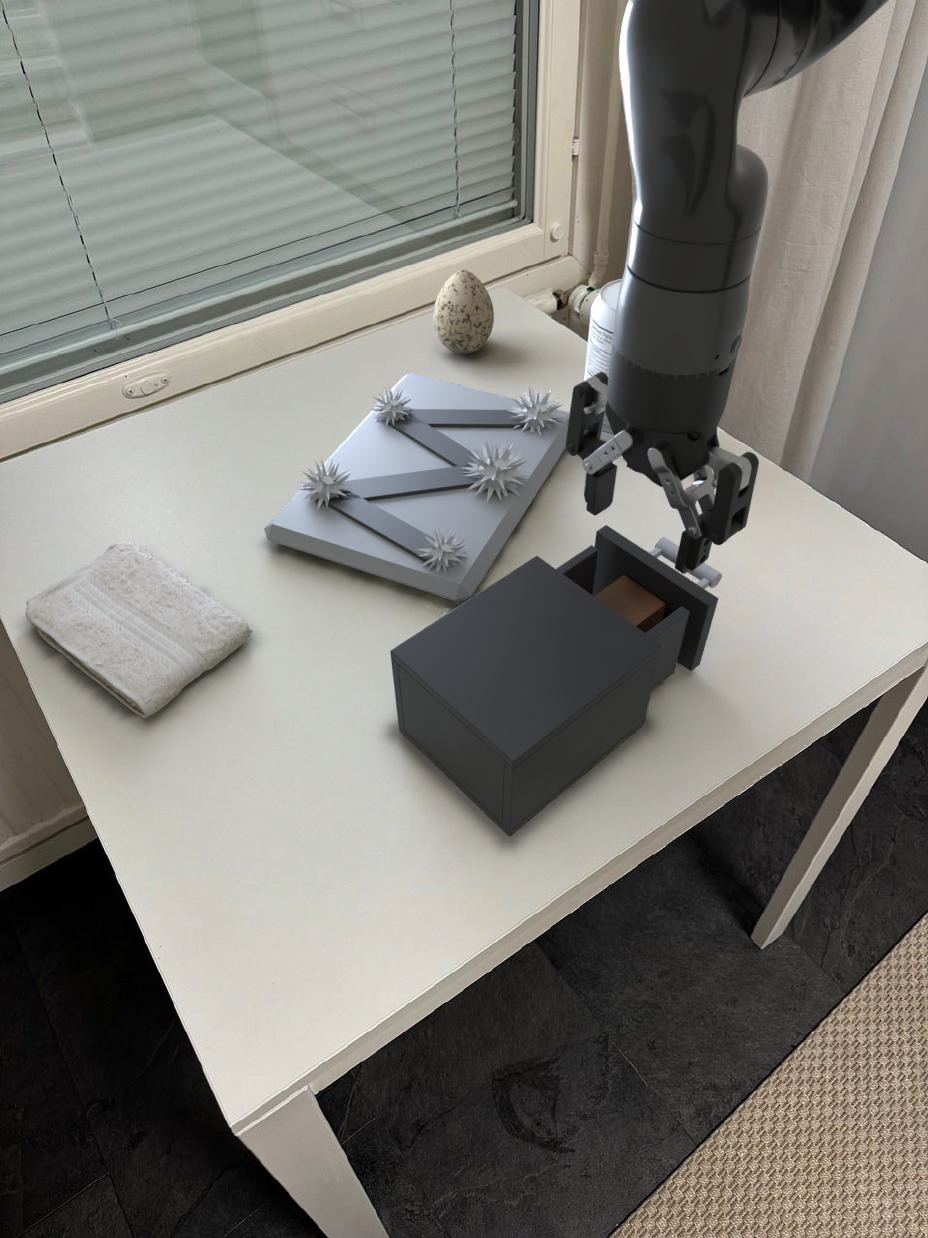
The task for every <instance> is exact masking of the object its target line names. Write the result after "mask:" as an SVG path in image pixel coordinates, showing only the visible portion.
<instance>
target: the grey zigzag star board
mask: <svg viewBox="0 0 928 1238" xmlns="http://www.w3.org/2000/svg"><path fill="white" fill-rule="evenodd" d="M530 388H531V389H530ZM530 388H528V394H527V392H526V391H525V390H523V392H524V397H525V398H524V397H523V396H522V395H521V394H518V396H519V398H520V399H519V398H518V397H509V396H505V395H501V394H497V393H493V392H489V391H484V390H481V389H476V388H473V387H469V386H464V385H461V384H456V383H453V382H448V381H445V380H441V379H437V378H433V377H429V376H424V375H421V374H417V373H412V372H408V373H406V374H405V375H404V376H402V377H401V378H400V379H399V380H398V381H397V382H396V384H394V385H393V387H392V388H391V389H390V388H389V386H387V389H386V388H384V390H383V394H384V396H383V395H382V394H380V393H379V392H377V394H376V396H377V397H376V396H374V395H373V398H374V399H375V400H376V401H377V402H376V404H371V406H372V407H373V408H371V410H370V412H369V413H368V414H367V415H366V416H365V417H364V418H363V420H362V421H361V422H360V423H359V424H358V425H357V426H356V427H355V428H354V429H353V431H352V432H351V433H349V435H348V436H347V437H346V438H345V439H344V440H343V441H342V443H341V444H340V445H339V446H338V447H337V448H336V449H335V450H334V451H333V453H332V454H330V455H329V457H328V458H327V459H326V460H325V461H324V462H323V460H322V458H320V464H321V466H320V465H319V464H318V461H315V463H316V464H315V465H316V468H317V469H316V471H315V472H314V471H313V470H311V469H309V468H308V467H306V466H305V468H306V469H307V471H308V472H309V473H310V474H309V473H306V472H305V471H303V470H301V472H302V473H303V474H304V476H306V479H307V481H297V483H299V484H302V485H300V487H301V488H298V491H297V492H296V493H295V494H294V495H293V496H292V497H291V499H289V501H288V502H287V503H286V504H285V505H284V506H283V507H282V508H281V509H280V510H279V512H278V513H277V514H276V515H275V516H274V517H273V518H272V519H271V520H270V521H269V522H268V524H267V525H266V526H265V527H264V528H263V530H264V533H265V536H266V538H267V540H268V541H269V542H273V543H276V544H279V545H282V546H285V547H288V548H291V549H294V550H297V551H300V552H304V553H307V554H309V555H312V556H316V557H318V558H322V559H325V560H327V561H330V562H334V563H338V564H341V565H343V566H346V567H350V568H351V569H355V570H359V571H362V572H364V573H367V574H370V575H373V576H377V577H379V578H383V579H386V580H388V581H392V582H395V583H397V584H401V585H404V586H407V587H410V588H412V589H413V588H414V589H417V590H419V591H422V592H425V593H428V594H432V595H434V596H435V595H436V596H438V597H441V598H444V599H447V600H450V601H453V602H460V603H461V602H464V601H465V600H466V601H467V600H469V599H470V598H472V597H473V596H474V593H476V590H477V589H478V587H479V586H480V584H481V582H482V581H483V579H484V578H485V576H486V575H487V574H488V572H489V570H490V568H491V567H492V565H493V564H494V562H495V560H496V559H497V557H498V556H499V554H500V552H501V551H502V549H503V548H504V546H505V544H506V543H507V542H508V540H509V538H510V537H511V535H512V533H513V532H514V530H515V529H516V527H517V526H518V524H519V522H520V521H521V519H522V518H523V516H524V514H525V513H526V511H527V510H528V508H529V507H530V505H531V503H532V501H533V500H534V499H535V497H536V495H537V494H538V492H539V491H540V489H541V487H542V486H543V484H544V483H545V481H546V479H547V478H548V476H550V473H551V472H552V470H553V469H554V467H555V465H556V464H557V462H558V461H559V459H560V457H561V456H562V454H563V453H564V451H565V449H566V438H567V430H568V423H569V416H570V411H565V410H560V409H559V408H560V407H562V406H563V405H564V403H562V404H560V402H558V400H559V399H560V397H558V398H556V399H554V400H552V401H551V399H549V398H550V395H551V392H552V389H550V390H549V391H548V392H547V393H546V394H545V396H544V387H542V388H541V390H540V393H539V390H537V391H536V394H535V391H534V388H533V386H532V385H531V387H530ZM556 402H558V403H556Z"/></svg>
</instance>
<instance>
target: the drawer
mask: <svg viewBox="0 0 928 1238" xmlns="http://www.w3.org/2000/svg"><path fill="white" fill-rule="evenodd" d="M594 539H595V540H594V546H593V545H589V546H587V547H586V548H585V549H584V550H582V551H580V552H579V553H578V554H576V555H574V556H573V557H571V558H570V559H568V560H567V561H565V562H564V563H562V564H561V565H559V566H558V567H556V568H555V569H556V570H558V571H559V572H561V573H562V574H563V575H565V576H566V577H568V578H569V579H570V580H572V581H573V582H575V583H576V584H577V585H579V586H580V587H581V588H583V589H584V590H586V591H587V592H588V593H590V594H591V595H593V596H595V595H596V594H598V593H599V592H601V591H602V590H604V589H605V588H606V587H608V586H609V585H611V584H612V583H614V582H615V581H616V580H618V579H619V578H621V577H622V576H623V575H625V576H626V577H628V578H629V579H631V580H632V581H634V582H635V583H637V584H638V585H640V586H641V587H642V588H644V589H645V590H647V591H648V592H650V593H651V594H653V595H654V596H656V597H657V598H658V599H660V600H661V601H663V602H664V603H666V606H665V610H664V615H663V619H662V621H661V622H660V623H659V624H657V625H656V626H655V627H653V628H652V629H651V630H650V631H648V632H647V633H646V634H647V635H648V636H650V637H651V638H653V639H654V640H655V641H657V642H658V643H660V644H661V645H662V648H661V652H660V657H659V661H658V666H657V670H656V674H655V679H654V683H653V687H652V692H653V691H654V690H655V689H656V688H658V687H659V686H660V685H662V684H663V683H664V682H665V681H667V680H668V679H669V678H670V677H671V676H673V675H674V674H675V670H676V667H677V664H679V665H680V666H682V667H683V668H685V669H686V670H687V671H688V672H693V671H694V670H695V669H697V667H699V666H700V665H701V662H702V658H703V654H704V652H705V648H706V645H707V640H708V638H709V633H710V631H711V627H712V623H713V619H714V617H715V612H716V609H717V606H718V602H719V597H717V596H716V595H714V594H712V593H711V592H709V590H706V589H707V588H708V587H710V588H711V589H714V588H715V587H717V586H718V585H719V583H720V582H721V580H722V578H723V574H722V573H721V572H720V571H718V570H716V569H715V568H714V567H712V566H711V565H709V564H707V563H706V562H704V563H703V564H701V565H700V566H699V567H697V568H696V569H694V570H693V571H691V570H689V571H688V572H687V574H689V575H691V576H692V577H694V578H695V579H697V580H699V581H698V582H697V583H696V582H694V581H693V580H691V579H690V578H688V577H687V576H685V575H684V574H682V573H681V572H679V571H678V570H676V569H675V568H673V567H671V566H670V565H668V564H667V563H666V562H664V561H662V560H661V559H659V557H660V556H662V557H663V558H665V559H666V560H668V561H669V562H671V563H673V564H674V565H675V564H676V559H677V554H678V550H679V545H677V544H676V543H674V542H673V541H671V540H669V539H668V538H667V537H665V536H663V537H661V538H659V539H658V540H657V542H656V543H655V545H654V548H653V549H652V550H650V551H649V552H648V551H647V550H645V549H644V548H643V547H641V546H639V545H638V544H636V543H635V542H634V541H632V540H630V539H629V538H628V537H625V536H624V535H622V534H621V533H620V532H618V531H616V530H615V529H613V528H611V526H609V525H607V524H605V525H603V526H602V527H601V528H599V529H597V530H596V532H595V538H594Z"/></svg>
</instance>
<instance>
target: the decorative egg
mask: <svg viewBox="0 0 928 1238" xmlns="http://www.w3.org/2000/svg"><path fill="white" fill-rule="evenodd" d="M491 298H492V297H491V296H490V293H489V291H488V290H487V288H486V286H485V285H484V284H483V282H482V281H481V279H479V278H478V277H477V275H475V274H474V273H473V272H472V271H470V270H468V269H460V270H457V271H456V272H454V273H453V274H452V275H451V276H449V278H448V279H447V280H446V281H445V282H444V284H443V285H442V287H441V289H440V290H439V292H438V294H437V297H436V300H435V302H434V307H433V316H432V317H433V318H432V319H433V326H434V330H435V333H436V335H437V338H438V339H439V341H440V342H441V343H442V344H443V346H444V347H445V348H447V349H448V350H450V351H451V352H453V353H456V354H462V355H465V354H471V353H474V352H476V351H477V350H479V349H481V348H482V347H483V346H484V345H485V344H486V343H487V342H488V340H489V339H490V336H491V334H492V331H493V327H494V323H495V311H494V305H493V301H492V299H491Z"/></svg>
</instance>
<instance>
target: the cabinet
mask: <svg viewBox="0 0 928 1238" xmlns="http://www.w3.org/2000/svg"><path fill="white" fill-rule="evenodd" d="M661 648H662V645H661V644H660V643H658V642H657V641H655V640H654V639H653V638H651V637H650V636H648V635H647V634H646V633H644V632H643V631H641V630H640V629H639V628H637V627H636V626H635V625H633V624H632V623H630V622H629V621H628V620H626V619H625V618H623V617H622V616H621V615H619V614H618V613H616V612H615V611H614V610H612V609H611V608H609V607H608V606H607V605H605V604H604V603H602V602H601V601H600V600H598V599H597V598H595V597H594V596H593V595H591V594H590V593H588V592H587V591H586V590H584V589H583V588H581V587H580V586H579V585H577V584H576V583H575V582H573V581H572V580H570V579H569V578H568V577H566V576H565V575H563V574H562V573H561V572H559V571H558V570H556V568H555V567H553V565H551V564H550V563H548V562H547V561H545V560H544V559H543V558H541V557H540V556H538V555H534V556H533V557H532V558H531V559H529V560H527V561H526V562H524V563H522V564H521V565H519V566H518V567H516V568H515V569H514V570H512V571H510V572H509V573H507V574H505V575H504V576H503V577H501V578H499V579H498V580H497V581H495V582H494V583H492V584H490V585H489V586H487V587H486V588H485V589H482V590H481V591H480V592H478V593H476V594H475V595H472V597H471V598H468V599H466V601H463V603H461V604H460V605H459V606H457V607H455V608H454V609H451V610H450V611H449V612H448V613H445V614H444V615H443V616H441V617H440V618H438V619H436V620H435V621H433V622H432V623H430V624H429V625H427V626H426V627H424V628H423V629H421V630H420V631H418V632H416V633H415V634H414V635H412V636H410V637H409V638H407V639H406V640H404V641H403V642H401V643H400V644H398V645H396V646H395V647H393V648H392V649H390V651H389V652H390V662H391V670H392V679H393V689H394V697H395V705H396V707H395V708H396V717H397V722H398V723H397V724H398V731H399V732H401V734H403V736H405V738H407V739H408V740H409V741H410V742H411V743H412V744H413V745H414V746H415V747H416V748H417V749H418V750H419V751H420V752H421V753H422V754H423V755H424V756H425V757H426V758H427V759H428V760H429V761H431V763H433V764H434V766H435V767H436V768H437V769H439V771H441V772H442V773H443V774H444V775H445V776H446V777H447V778H448V779H449V780H450V781H451V782H452V783H453V784H454V785H455V786H456V787H457V788H459V790H460V791H461V792H462V793H463V794H464V795H466V796H467V797H468V798H469V800H471V801H472V802H473V803H474V804H475V805H476V806H477V807H478V808H479V809H480V810H481V811H482V812H483V813H484V814H485V815H486V816H487V817H489V819H491V821H493V822H494V824H496V825H497V827H499V829H501V831H503V832H504V833H505V834H506V835H507V836H508V837H511V836H513V835H514V834H515V833H516V832H517V831H519V830H520V829H521V828H523V826H524V825H526V824H527V823H528V822H530V821H531V820H532V819H533V818H534V817H536V816H537V815H538V814H539V813H540V812H542V811H543V810H544V809H545V808H546V807H547V806H549V805H550V804H552V802H554V801H555V800H556V799H557V798H558V797H560V796H561V795H562V794H563V793H564V792H566V791H567V790H568V789H569V788H570V787H572V786H573V785H574V784H575V783H576V782H578V781H579V780H580V779H581V778H582V777H584V776H585V775H586V774H587V773H589V772H590V771H591V770H593V768H594V767H596V766H597V765H598V764H599V763H600V762H602V761H603V760H604V759H605V758H607V756H609V755H610V754H611V753H612V752H613V751H615V750H617V748H619V747H620V746H621V745H622V744H624V742H626V741H627V740H628V739H629V738H631V737H632V736H633V735H634V734H635V733H637V732H638V731H639V730H640V729H642V728H643V726H644V725H645V722H646V717H647V713H648V708H649V704H650V700H651V695H652V692H653V691H652V687H653V683H654V679H655V674H656V670H657V666H658V661H659V657H660V652H661Z"/></svg>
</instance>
